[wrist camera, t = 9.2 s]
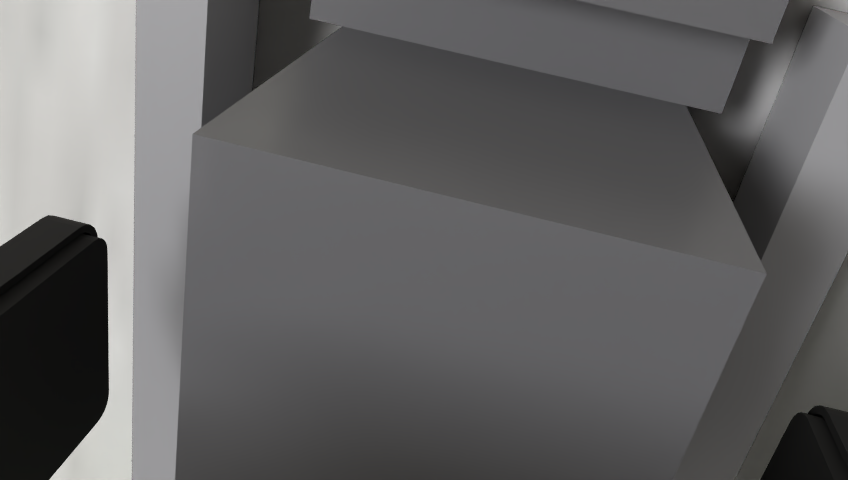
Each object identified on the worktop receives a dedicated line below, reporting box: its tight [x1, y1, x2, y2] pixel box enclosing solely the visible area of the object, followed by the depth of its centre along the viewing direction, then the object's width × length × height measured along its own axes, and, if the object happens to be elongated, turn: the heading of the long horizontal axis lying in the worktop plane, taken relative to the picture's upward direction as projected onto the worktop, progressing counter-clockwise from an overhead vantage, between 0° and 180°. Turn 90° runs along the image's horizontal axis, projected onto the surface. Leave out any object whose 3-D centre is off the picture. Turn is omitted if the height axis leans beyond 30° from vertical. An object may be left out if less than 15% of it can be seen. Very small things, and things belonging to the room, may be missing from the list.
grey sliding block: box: [175, 0, 789, 480], centre depth 11 cm, size 6×10×6 cm, turn 170°
